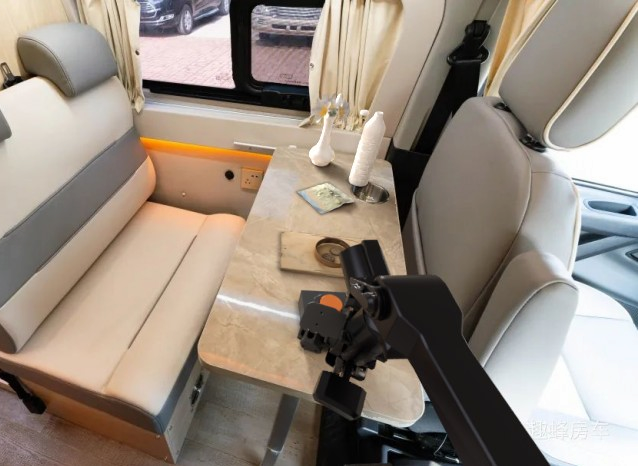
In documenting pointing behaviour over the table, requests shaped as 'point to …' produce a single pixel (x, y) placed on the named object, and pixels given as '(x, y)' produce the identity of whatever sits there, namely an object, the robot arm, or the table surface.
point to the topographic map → (325, 197)
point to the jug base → (318, 300)
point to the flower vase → (327, 126)
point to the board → (313, 253)
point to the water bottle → (367, 149)
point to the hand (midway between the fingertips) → (337, 360)
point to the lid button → (331, 302)
